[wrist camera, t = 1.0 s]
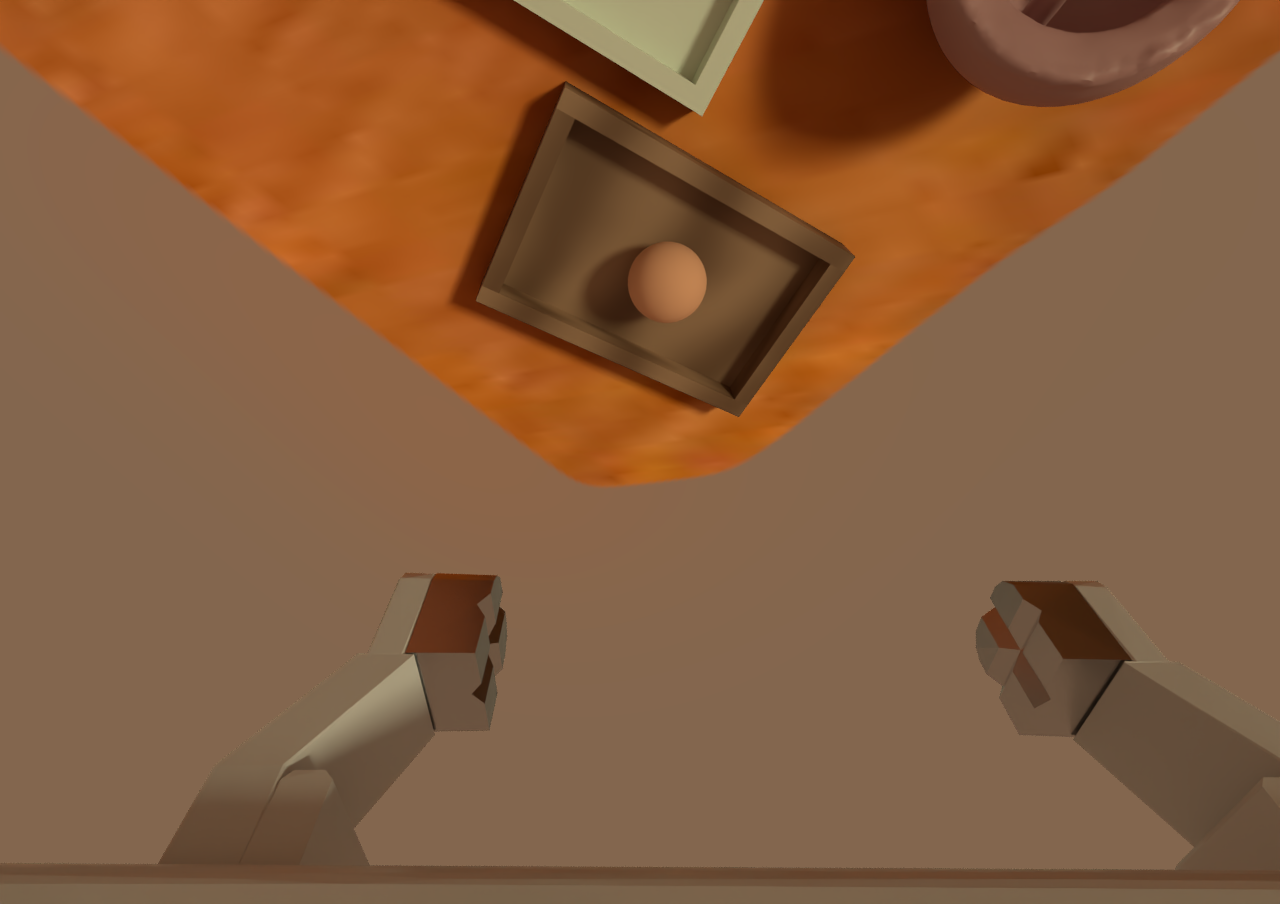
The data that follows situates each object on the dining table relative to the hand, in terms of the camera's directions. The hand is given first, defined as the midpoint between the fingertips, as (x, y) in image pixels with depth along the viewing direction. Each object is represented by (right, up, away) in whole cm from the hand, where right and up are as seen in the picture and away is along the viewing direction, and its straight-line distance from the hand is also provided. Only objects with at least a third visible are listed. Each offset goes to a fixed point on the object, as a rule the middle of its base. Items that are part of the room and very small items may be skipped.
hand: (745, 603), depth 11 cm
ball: (0, +12, +26) cm, 28 cm away
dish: (0, +14, +28) cm, 31 cm away
